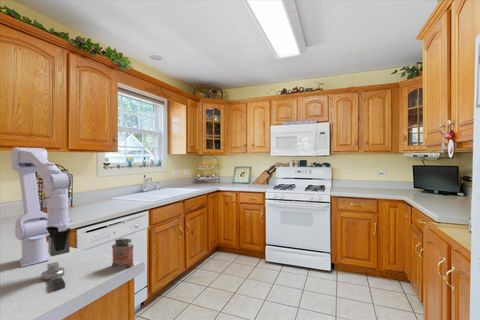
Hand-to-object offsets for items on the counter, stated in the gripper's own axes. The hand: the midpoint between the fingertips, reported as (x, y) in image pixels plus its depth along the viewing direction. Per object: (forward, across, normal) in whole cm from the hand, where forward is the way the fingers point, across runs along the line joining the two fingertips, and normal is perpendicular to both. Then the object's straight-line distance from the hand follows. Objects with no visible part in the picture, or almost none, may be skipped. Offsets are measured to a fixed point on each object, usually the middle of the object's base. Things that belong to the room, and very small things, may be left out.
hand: (58, 248), depth 82 cm
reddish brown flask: (+9, -11, -17) cm, 22 cm away
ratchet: (+9, -6, +2) cm, 10 cm away
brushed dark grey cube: (+2, 0, 0) cm, 2 cm away
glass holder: (+8, +125, -21) cm, 127 cm away
